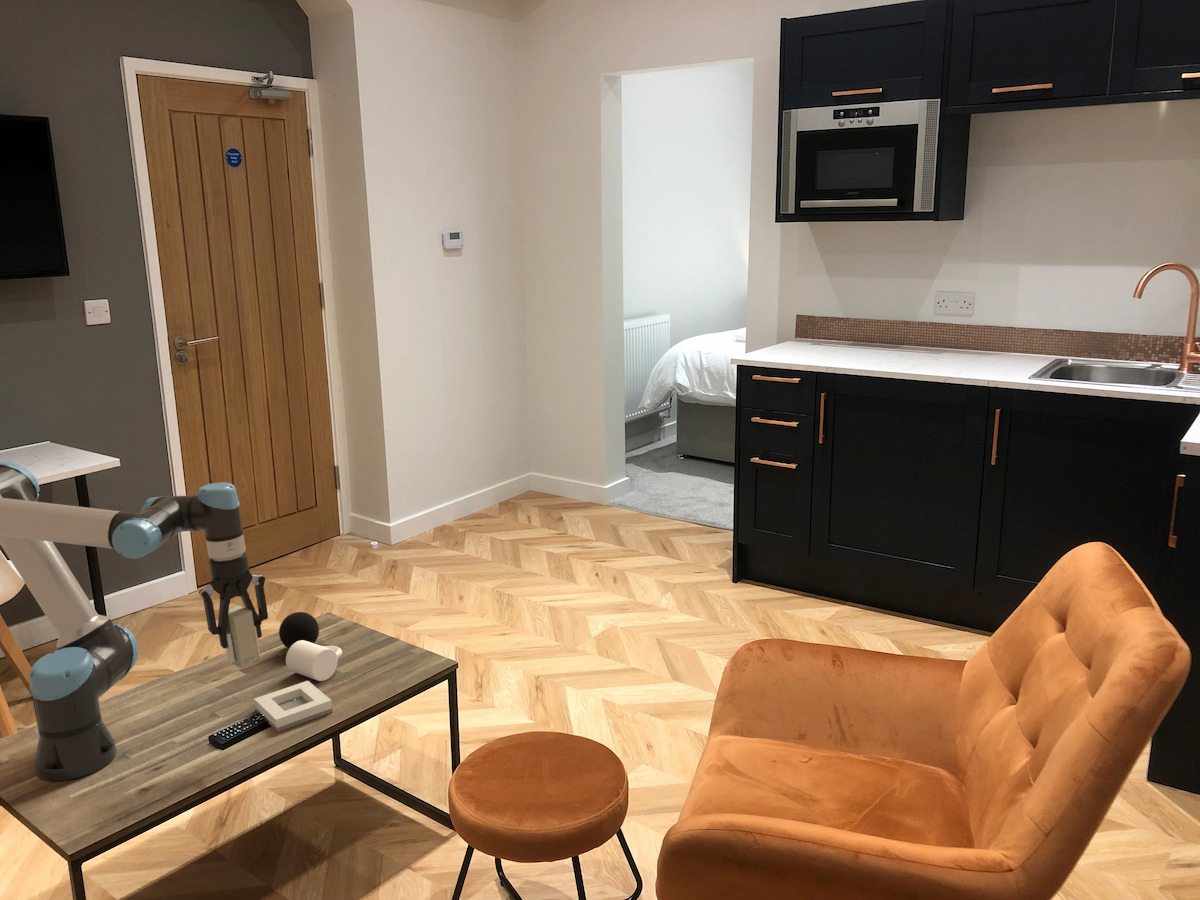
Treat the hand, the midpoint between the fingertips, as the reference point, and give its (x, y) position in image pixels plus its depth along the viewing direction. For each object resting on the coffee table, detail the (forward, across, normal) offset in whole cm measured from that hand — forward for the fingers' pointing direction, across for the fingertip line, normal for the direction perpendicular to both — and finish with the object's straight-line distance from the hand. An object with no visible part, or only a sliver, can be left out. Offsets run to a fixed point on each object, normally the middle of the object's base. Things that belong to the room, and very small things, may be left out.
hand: (243, 656), depth 212 cm
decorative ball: (+18, +23, +34) cm, 45 cm away
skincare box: (+2, 0, 0) cm, 2 cm away
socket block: (+18, +10, +2) cm, 20 cm away
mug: (+18, +22, +18) cm, 34 cm away
